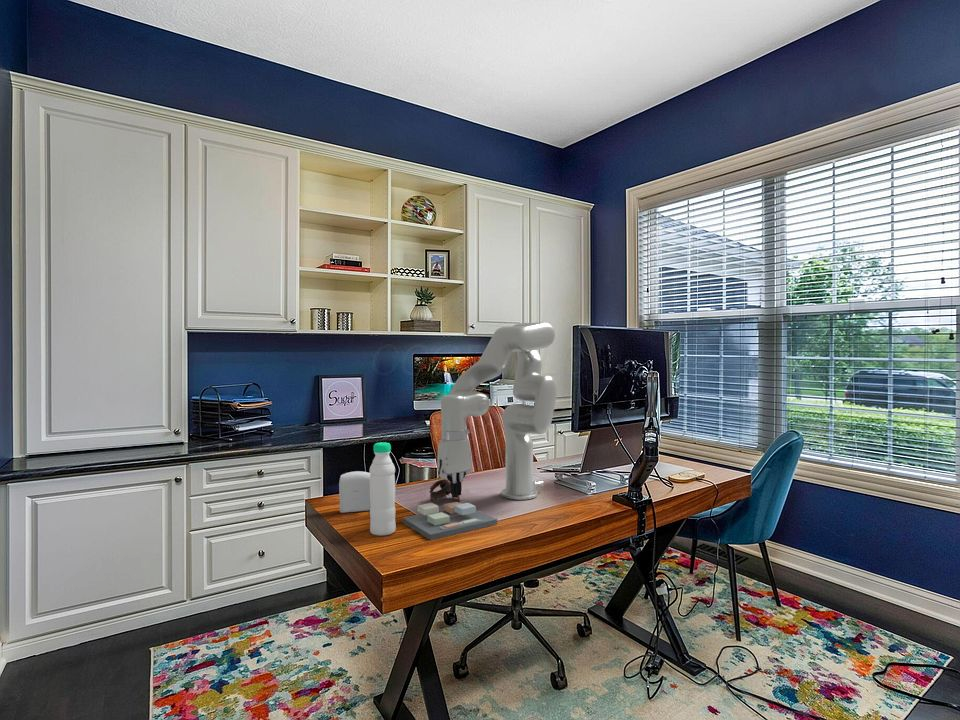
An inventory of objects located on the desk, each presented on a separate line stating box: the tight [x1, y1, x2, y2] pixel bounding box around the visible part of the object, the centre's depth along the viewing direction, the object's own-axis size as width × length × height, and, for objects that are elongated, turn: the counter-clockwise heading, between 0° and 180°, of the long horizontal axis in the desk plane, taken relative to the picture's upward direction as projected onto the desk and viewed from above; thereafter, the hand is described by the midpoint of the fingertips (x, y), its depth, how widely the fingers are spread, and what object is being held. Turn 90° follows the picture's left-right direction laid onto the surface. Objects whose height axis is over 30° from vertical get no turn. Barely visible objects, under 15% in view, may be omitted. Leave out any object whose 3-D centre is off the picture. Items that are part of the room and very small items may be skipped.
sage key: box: [427, 512, 450, 526], centre depth 152 cm, size 5×4×2 cm
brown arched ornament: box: [429, 478, 461, 503], centre depth 180 cm, size 12×10×8 cm
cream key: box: [416, 502, 440, 515], centre depth 157 cm, size 5×4×2 cm
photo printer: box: [338, 470, 371, 514], centre depth 168 cm, size 10×4×12 cm, turn 104°
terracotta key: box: [443, 501, 462, 514], centre depth 162 cm, size 5×4×2 cm
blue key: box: [454, 502, 477, 515], centre depth 157 cm, size 5×4×2 cm
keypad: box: [402, 508, 498, 541], centre depth 156 cm, size 22×17×2 cm
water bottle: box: [369, 441, 397, 537], centre depth 149 cm, size 7×7×25 cm
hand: (456, 494), depth 163 cm, fingers closed
